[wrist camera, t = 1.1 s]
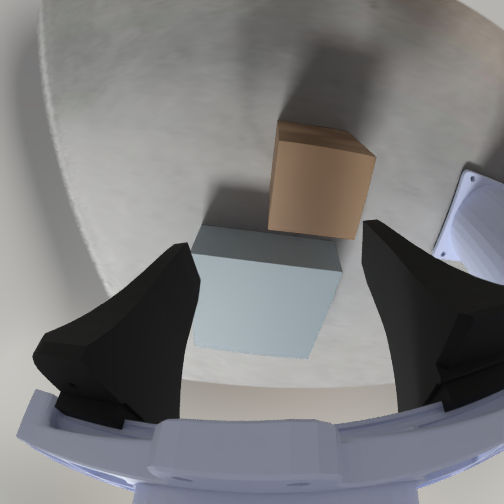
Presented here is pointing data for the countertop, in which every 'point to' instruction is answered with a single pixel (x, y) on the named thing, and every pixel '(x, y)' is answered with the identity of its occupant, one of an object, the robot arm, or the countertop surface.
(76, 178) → the countertop surface
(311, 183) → the walnut block
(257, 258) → the slate block
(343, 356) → the countertop surface
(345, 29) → the countertop surface
